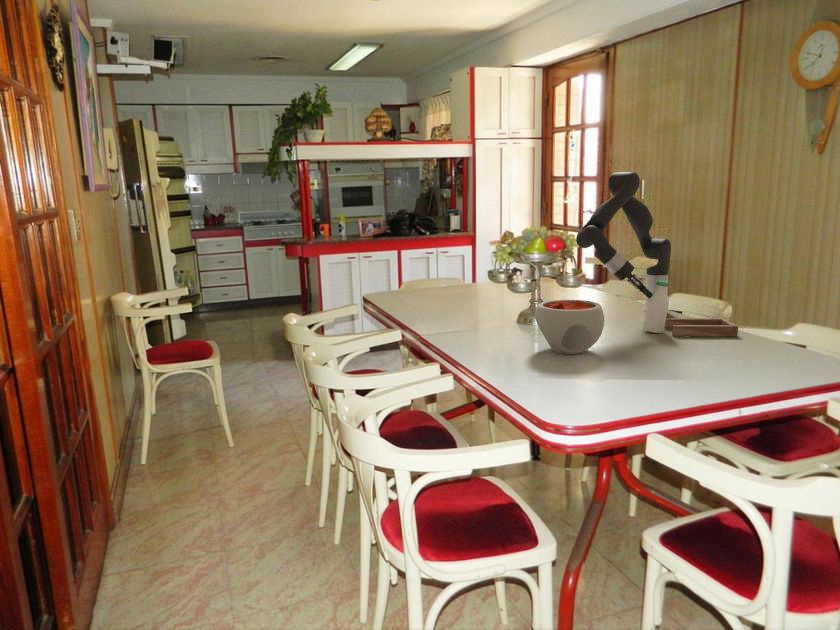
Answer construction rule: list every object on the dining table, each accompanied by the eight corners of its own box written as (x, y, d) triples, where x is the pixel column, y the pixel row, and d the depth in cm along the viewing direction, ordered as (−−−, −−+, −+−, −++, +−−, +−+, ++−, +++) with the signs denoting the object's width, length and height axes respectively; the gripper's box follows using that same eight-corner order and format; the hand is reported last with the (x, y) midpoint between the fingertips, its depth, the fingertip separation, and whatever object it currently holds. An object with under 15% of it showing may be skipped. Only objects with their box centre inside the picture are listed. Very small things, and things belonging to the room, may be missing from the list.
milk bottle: (664, 334, 243) (675, 284, 239) (644, 331, 245) (654, 281, 240) (661, 330, 251) (671, 281, 246) (641, 327, 252) (650, 278, 248)
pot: (616, 349, 224) (617, 300, 220) (580, 364, 207) (581, 311, 204) (557, 340, 241) (558, 294, 237) (520, 352, 224) (520, 303, 220)
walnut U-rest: (664, 328, 254) (664, 318, 254) (724, 328, 251) (725, 318, 250) (673, 336, 240) (673, 326, 239) (737, 336, 236) (738, 326, 236)
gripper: (629, 260, 238) (661, 292, 238) (623, 257, 250) (654, 287, 251) (614, 275, 239) (646, 306, 240) (609, 270, 252) (640, 300, 253)
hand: (650, 296), depth 245 cm, fingers closed
